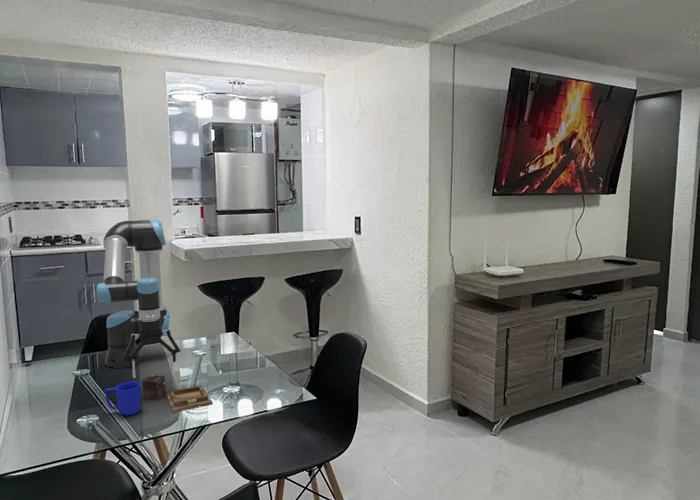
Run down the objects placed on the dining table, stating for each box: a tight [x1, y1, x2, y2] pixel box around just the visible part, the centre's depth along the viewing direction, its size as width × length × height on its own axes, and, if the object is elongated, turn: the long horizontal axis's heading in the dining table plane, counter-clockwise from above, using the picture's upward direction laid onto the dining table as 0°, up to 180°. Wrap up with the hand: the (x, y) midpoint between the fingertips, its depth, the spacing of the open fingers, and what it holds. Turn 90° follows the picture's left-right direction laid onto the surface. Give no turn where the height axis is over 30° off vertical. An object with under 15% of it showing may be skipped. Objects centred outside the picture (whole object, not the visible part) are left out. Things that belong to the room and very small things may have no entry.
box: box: [142, 374, 167, 400], centre depth 198 cm, size 6×6×7 cm
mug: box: [104, 380, 142, 416], centre depth 184 cm, size 8×12×10 cm
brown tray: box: [165, 385, 213, 413], centre depth 195 cm, size 16×14×2 cm
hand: (153, 373), depth 197 cm, fingers open, 13 cm apart
